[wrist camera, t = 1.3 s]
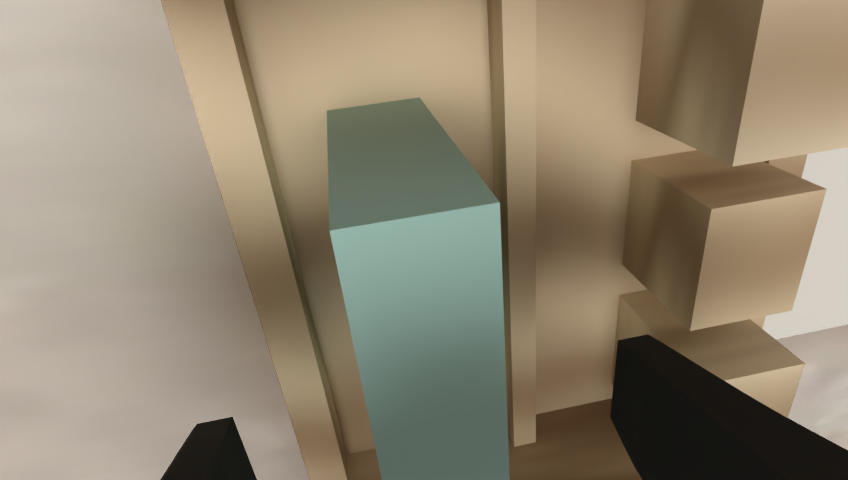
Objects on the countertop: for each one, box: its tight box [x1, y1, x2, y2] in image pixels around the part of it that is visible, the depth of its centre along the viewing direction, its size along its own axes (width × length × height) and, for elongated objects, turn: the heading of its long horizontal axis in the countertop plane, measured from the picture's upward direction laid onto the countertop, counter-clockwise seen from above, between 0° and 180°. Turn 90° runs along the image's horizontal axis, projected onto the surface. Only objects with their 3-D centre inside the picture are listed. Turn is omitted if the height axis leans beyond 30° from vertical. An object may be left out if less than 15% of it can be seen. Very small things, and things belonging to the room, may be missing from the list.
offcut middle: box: [622, 150, 827, 331], centre depth 15 cm, size 4×3×4 cm
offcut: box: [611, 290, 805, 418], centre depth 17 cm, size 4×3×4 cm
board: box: [327, 97, 510, 480], centre depth 12 cm, size 9×2×7 cm, turn 6°
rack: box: [161, 0, 808, 480], centre depth 13 cm, size 18×16×7 cm
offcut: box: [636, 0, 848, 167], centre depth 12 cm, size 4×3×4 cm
